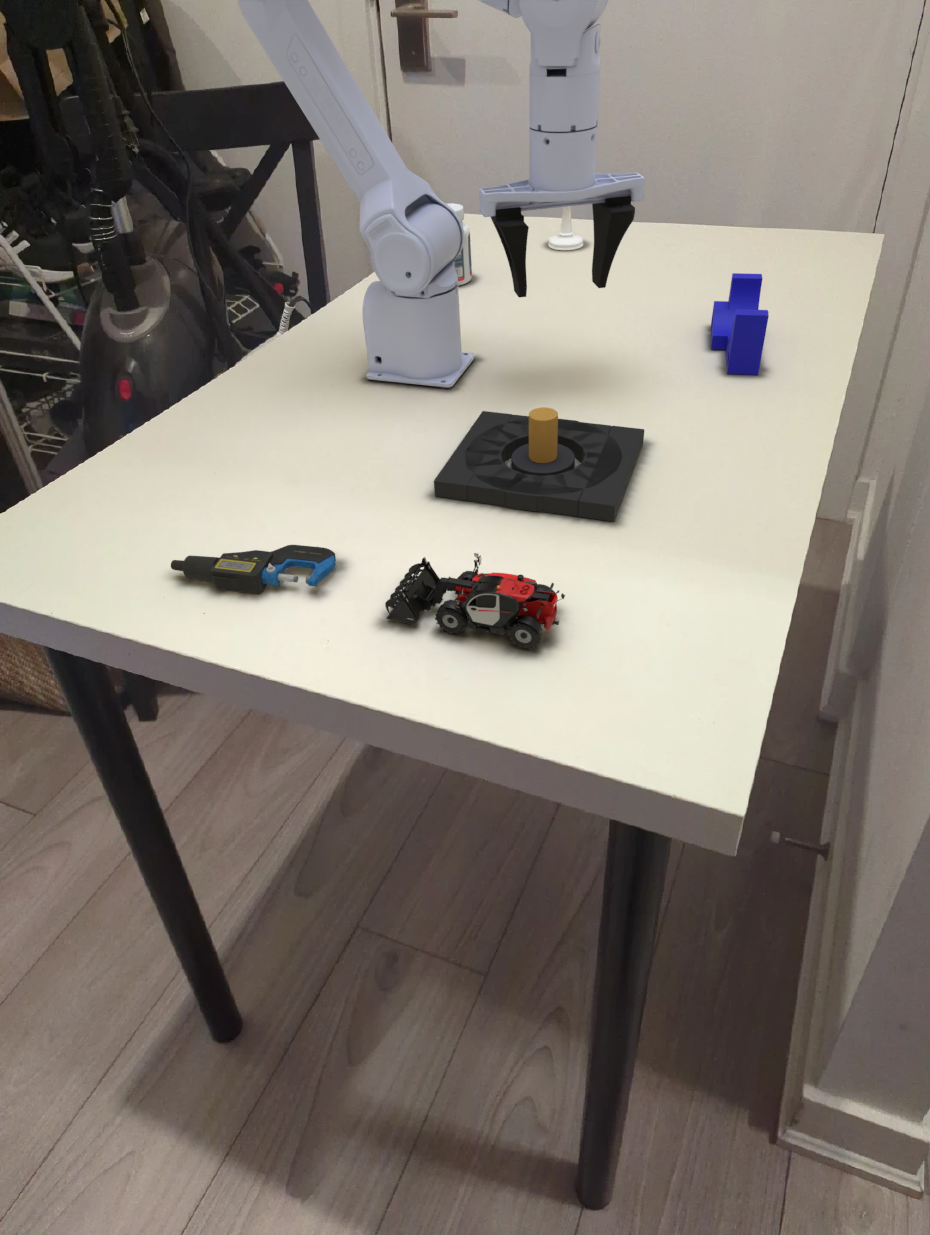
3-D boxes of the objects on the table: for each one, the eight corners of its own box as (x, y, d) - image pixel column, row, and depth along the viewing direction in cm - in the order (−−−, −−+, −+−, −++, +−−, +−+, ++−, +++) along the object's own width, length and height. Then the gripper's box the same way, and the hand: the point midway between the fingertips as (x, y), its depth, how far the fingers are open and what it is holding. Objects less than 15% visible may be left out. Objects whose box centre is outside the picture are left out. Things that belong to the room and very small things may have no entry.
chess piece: (546, 250, 121) (547, 171, 114) (549, 239, 125) (551, 162, 118) (582, 250, 120) (585, 171, 114) (584, 239, 124) (587, 162, 117)
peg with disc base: (499, 475, 74) (498, 419, 71) (531, 448, 78) (531, 394, 74) (554, 491, 72) (555, 434, 69) (585, 463, 75) (588, 407, 72)
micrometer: (339, 543, 64) (315, 583, 61) (342, 563, 66) (319, 604, 62) (192, 526, 67) (161, 565, 63) (198, 547, 68) (167, 585, 64)
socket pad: (434, 497, 72) (432, 481, 71) (483, 424, 82) (483, 410, 81) (613, 523, 68) (614, 506, 67) (643, 443, 77) (645, 428, 77)
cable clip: (710, 328, 97) (718, 273, 93) (752, 329, 96) (761, 273, 92) (711, 373, 88) (720, 314, 84) (758, 375, 87) (768, 315, 83)
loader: (385, 622, 60) (378, 567, 57) (412, 583, 63) (406, 529, 60) (554, 658, 56) (555, 601, 53) (573, 615, 59) (575, 559, 56)
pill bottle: (447, 271, 116) (443, 199, 110) (479, 277, 114) (477, 204, 108) (423, 283, 113) (417, 210, 107) (455, 290, 110) (451, 215, 105)
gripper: (629, 110, 77) (619, 267, 86) (469, 125, 75) (475, 283, 84) (658, 125, 72) (644, 291, 80) (486, 141, 70) (491, 309, 79)
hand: (559, 289), depth 82 cm, fingers open, 7 cm apart
